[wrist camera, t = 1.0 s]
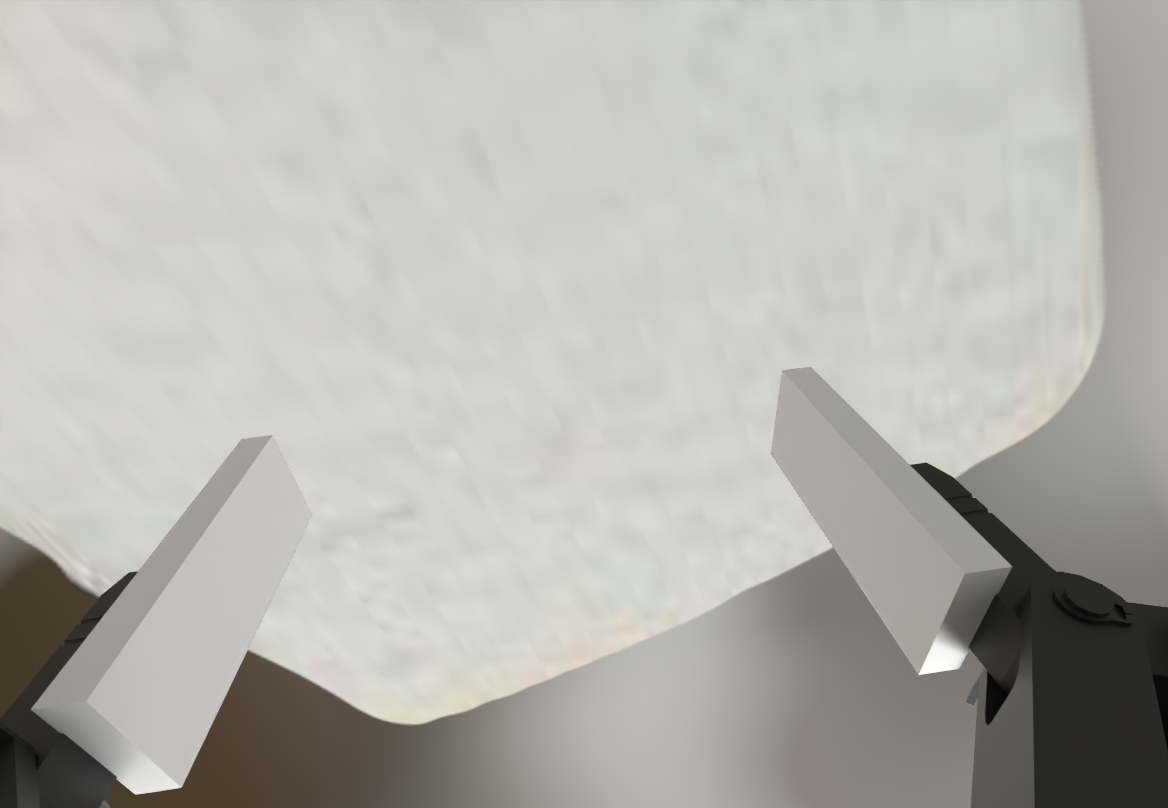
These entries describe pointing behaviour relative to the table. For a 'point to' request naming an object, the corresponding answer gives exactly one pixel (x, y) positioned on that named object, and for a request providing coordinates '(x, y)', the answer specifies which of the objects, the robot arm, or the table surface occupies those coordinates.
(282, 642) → the table surface
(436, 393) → the table surface
